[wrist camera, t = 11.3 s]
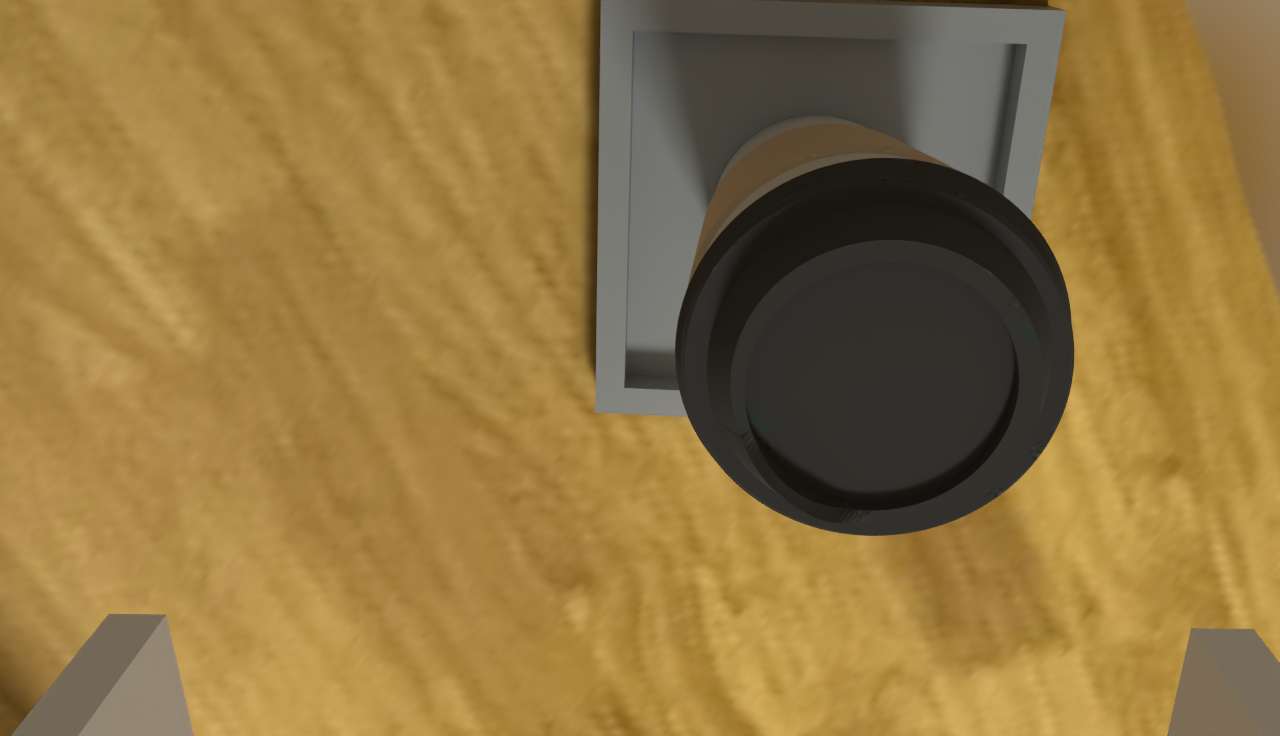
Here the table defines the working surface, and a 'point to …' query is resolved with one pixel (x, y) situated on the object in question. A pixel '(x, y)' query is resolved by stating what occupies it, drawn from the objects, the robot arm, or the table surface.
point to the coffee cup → (869, 332)
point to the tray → (770, 93)
